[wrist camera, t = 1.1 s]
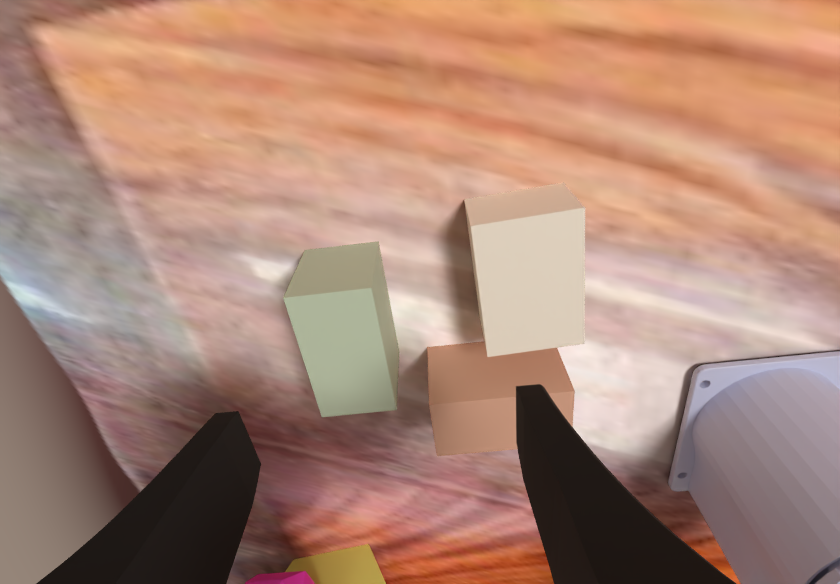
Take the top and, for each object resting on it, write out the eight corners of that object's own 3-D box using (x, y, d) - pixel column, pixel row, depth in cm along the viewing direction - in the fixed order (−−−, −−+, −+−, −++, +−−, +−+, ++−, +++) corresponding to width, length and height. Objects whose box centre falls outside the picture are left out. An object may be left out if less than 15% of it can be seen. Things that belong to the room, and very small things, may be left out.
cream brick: (564, 304, 22) (584, 343, 19) (479, 317, 22) (487, 357, 20) (562, 180, 19) (585, 207, 16) (463, 197, 19) (470, 226, 17)
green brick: (399, 350, 23) (396, 409, 20) (335, 357, 23) (321, 417, 20) (378, 240, 20) (371, 287, 17) (305, 249, 20) (283, 298, 17)
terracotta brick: (551, 333, 23) (574, 391, 19) (549, 382, 24) (571, 444, 21) (427, 345, 23) (429, 404, 20) (434, 393, 25) (437, 456, 21)
